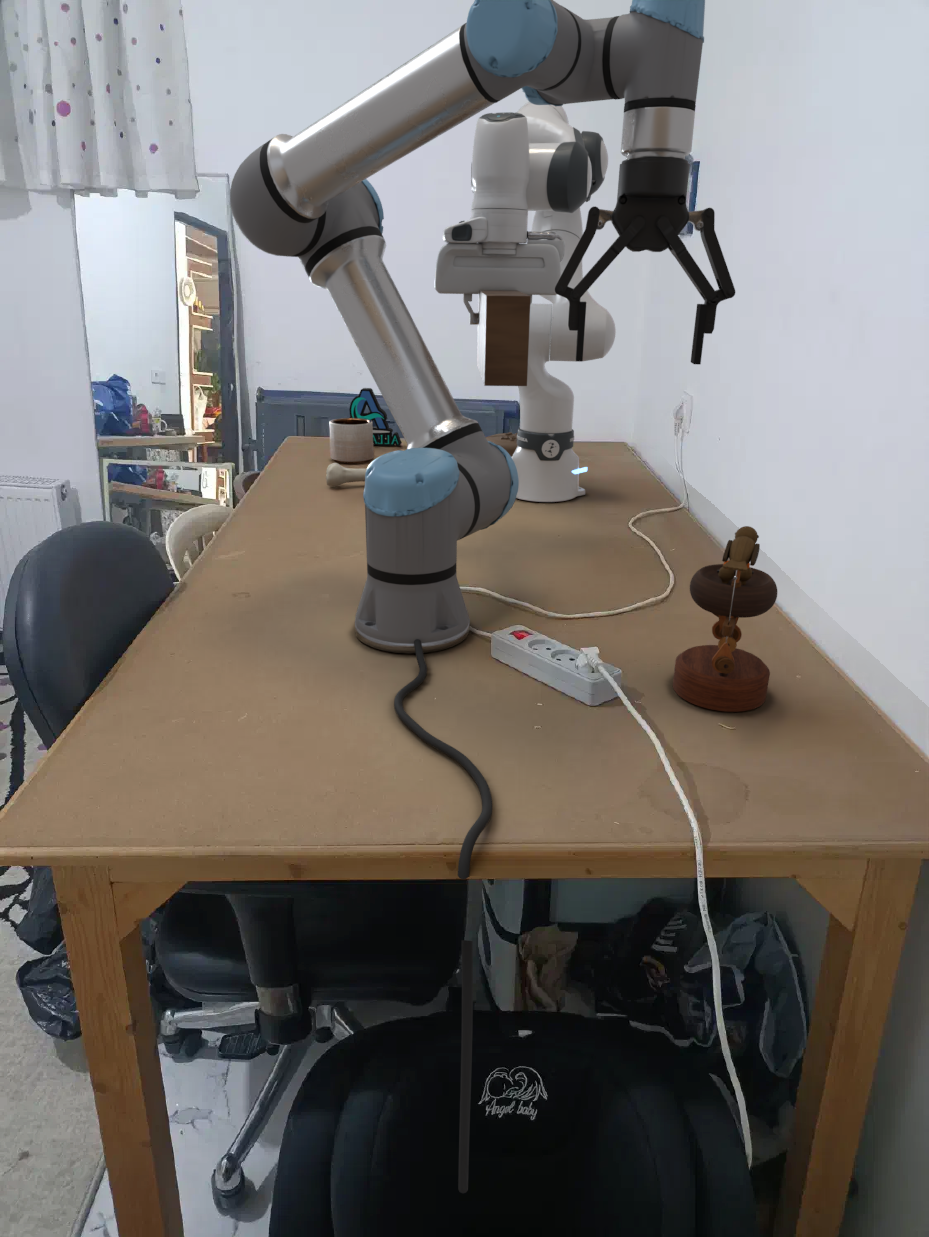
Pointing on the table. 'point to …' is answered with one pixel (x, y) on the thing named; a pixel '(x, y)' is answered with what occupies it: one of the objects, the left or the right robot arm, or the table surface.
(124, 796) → the table surface
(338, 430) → the planter
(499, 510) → the left robot arm
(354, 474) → the dog toy
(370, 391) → the decorative sign
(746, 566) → the music box
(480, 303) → the box
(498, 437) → the brown flat oval slab
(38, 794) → the table surface
